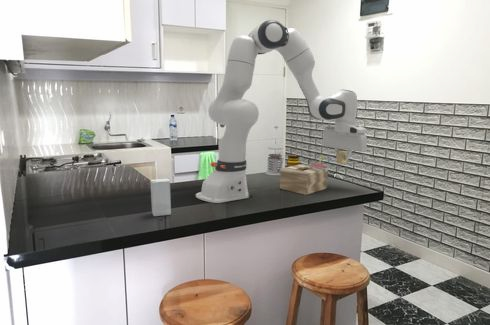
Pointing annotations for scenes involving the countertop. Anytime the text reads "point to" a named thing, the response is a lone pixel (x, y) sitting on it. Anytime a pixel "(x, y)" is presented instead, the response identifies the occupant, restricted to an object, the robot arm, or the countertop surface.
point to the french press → (274, 160)
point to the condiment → (292, 160)
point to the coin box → (303, 179)
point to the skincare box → (160, 197)
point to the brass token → (341, 157)
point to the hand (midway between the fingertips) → (342, 159)
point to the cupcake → (319, 163)
